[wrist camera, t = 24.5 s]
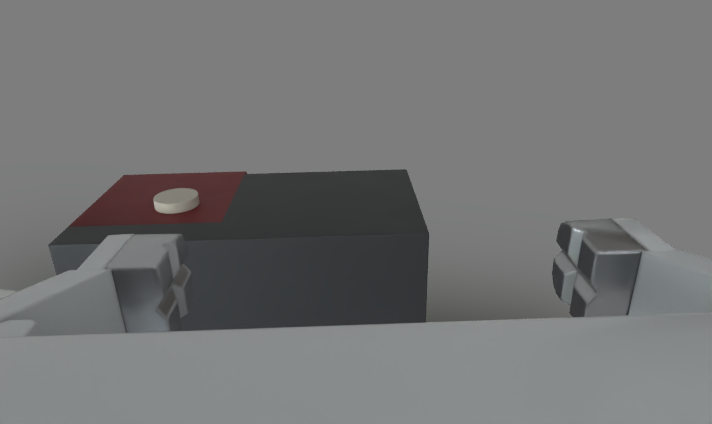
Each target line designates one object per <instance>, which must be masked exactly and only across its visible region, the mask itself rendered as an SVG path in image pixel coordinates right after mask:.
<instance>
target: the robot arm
mask: <svg viewBox="0 0 712 424" xmlns="http://www.w3.org/2000/svg"><path fill="white" fill-rule="evenodd" d="M557 243H558V244H559V246H560V247H561V249H562V251H561V252H560V253H559V255H557V257H556V258H555V259H554V262H553V271H552V275H553V284H554V288H555V291H556V294H557V295H558V296H559V298H560V300H561V301H563V302H565V303H567V304H569V305H571V306H570V314H571V315H572V317H568V318H540V319H513V320H512V319H511V320H482V321H455V322H425V323H397V324H368V325H340V326H311V327H283V328H254V329H226V330H197V331H180V330H181V327H182V324H181V318H182V317H183V316H185V315H186V314H188V312H189V309H190V307H191V303H192V296H193V281H192V274H191V271H190V270H189V269H188V268H187V267H186V266H185V265H184V264H183V262H184V260H185V258H186V256H187V254H188V251H187V246H186V241H185V238H184V237H183V235H182V234H137V235H134V234H121V235H108V236H107V237H106V238H105V239H104V241H103V242H102V243H101V244H100V245H99V246H98V247H97V248H96V249H95V250H94V251H93V253H92V254H91V255H90V256H89V257H88V258H87V259H86V260H85V261H84V262H83V264H82V265H81V266H80V267H79V268H78V269H77V270H68V271H66V272H64V273H61V274H59V275H56V276H54V277H52V278H49V279H47V280H45V281H42V282H40V283H37V284H35V285H33V286H30V287H28V288H26V289H23V290H21V291H18V292H16V293H13V294H11V295H9V296H6V297H4V298H2V299H0V424H712V259H709V258H706V257H703V256H700V255H697V254H694V253H690V252H687V251H684V250H674V249H673V248H672V247H671V246H669V245H668V244H667V243H666V242H664V241H663V240H662V239H661V238H659V237H658V236H657V235H655V234H654V233H653V232H652V231H650V230H649V229H648V228H647V227H646V226H644V225H643V224H642V223H640V222H639V221H638V220H637V219H633V218H624V219H597V220H580V221H579V220H578V221H566V222H563V223H561V225H560V227H559V230H558V235H557Z"/></svg>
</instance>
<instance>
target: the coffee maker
mask: <svg viewBox="0 0 712 424" xmlns="http://www.w3.org/2000/svg"><path fill="white" fill-rule="evenodd" d="M121 234H134V235H137V234H182V235H183V237H184V238H185V241H186V246H187V251H188V254H187V256H186V258H185V260H184V262H183V264H184V265H185V266H186V267H187V268H188V269H189V270H190V271H191V274H192V281H193V296H192V303H191V307H190V309H189V312H188V314H186V315H185V316H183V317H182V318H181V324H182V327H181V330H180V331H197V330H226V329H254V328H283V327H311V326H340V325H368V324H397V323H425V322H426V299H427V298H426V297H427V273H428V248H429V232H428V229H427V226H426V224H425V221H424V218H423V215H422V212H421V210H420V207H419V204H418V201H417V198H416V195H415V193H414V190H413V187H412V184H411V181H410V178H409V175H408V173H407V170H376V171H374V170H373V171H343V172H342V171H338V172H305V173H269V174H247V173H246V172H214V173H182V174H146V175H124V176H123V177H122V178H121V179H120V180H118V181H117V182H116V183H115V184H114V185H113V186H112V187H111V188H110V189H109V190H108V191H107V192H105V193H104V194H103V195H102V196H101V197H100V198H99V199H98V200H97V201H96V202H95V203H93V204H92V205H91V206H90V207H89V208H88V209H87V210H86V211H85V212H84V213H83V214H82V215H81V216H79V217H78V218H77V219H76V220H75V221H74V222H73V223H72V224H71V225H70V226H69V227H68V228H66V229H65V230H64V231H63V232H62V233H61V234H60V235H59V236H58V237H57V238H56V239H55V240H53V241H52V243H50V244H49V250H50V253H51V257H52V260H53V264H54V267H55V270H56V274H57V275H59V274H61V273H64V272H66V271H68V270H77V269H78V268H79V267H80V266H81V265H82V264H83V262H84V261H85V260H86V259H87V258H88V257H89V256H90V255H91V254H92V253H93V251H94V250H95V249H96V248H97V247H98V246H99V245H100V244H101V243H102V242H103V241H104V239H105V238H106V237H107V236H108V235H121Z"/></svg>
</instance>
